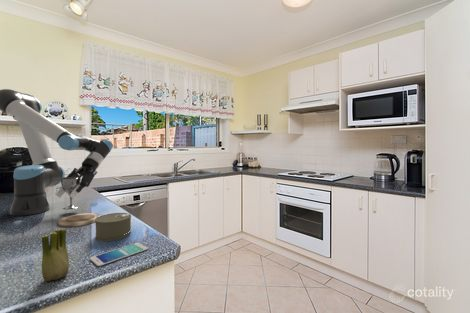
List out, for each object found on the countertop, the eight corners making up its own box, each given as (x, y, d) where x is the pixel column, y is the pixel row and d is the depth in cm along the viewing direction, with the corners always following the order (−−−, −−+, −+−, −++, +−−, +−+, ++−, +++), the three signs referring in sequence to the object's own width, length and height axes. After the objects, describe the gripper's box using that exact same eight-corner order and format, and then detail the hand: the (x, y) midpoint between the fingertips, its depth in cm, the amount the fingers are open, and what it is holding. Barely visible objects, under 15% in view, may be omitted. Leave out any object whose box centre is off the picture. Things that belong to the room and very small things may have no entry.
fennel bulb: (43, 286, 55) (41, 236, 54) (39, 278, 58) (37, 231, 57) (72, 276, 59) (71, 230, 58) (67, 269, 62) (66, 225, 62)
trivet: (75, 228, 94) (75, 225, 94) (48, 224, 99) (48, 221, 99) (109, 217, 109) (108, 214, 109) (84, 214, 114) (84, 211, 114)
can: (90, 235, 87) (90, 217, 87) (123, 227, 96) (123, 211, 95) (101, 244, 79) (101, 224, 78) (136, 235, 87) (136, 217, 87)
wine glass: (59, 210, 110) (59, 179, 110) (63, 206, 117) (62, 177, 117) (79, 208, 114) (79, 178, 114) (81, 205, 121) (81, 176, 121)
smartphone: (149, 248, 75) (98, 265, 63) (149, 250, 75) (98, 269, 63) (137, 242, 80) (88, 257, 68) (137, 244, 80) (88, 260, 68)
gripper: (111, 167, 127) (86, 202, 112) (81, 165, 133) (53, 199, 117) (104, 157, 122) (76, 193, 107) (73, 156, 127) (42, 190, 112)
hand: (64, 196), depth 112 cm, fingers closed on wine glass, 8 cm apart
